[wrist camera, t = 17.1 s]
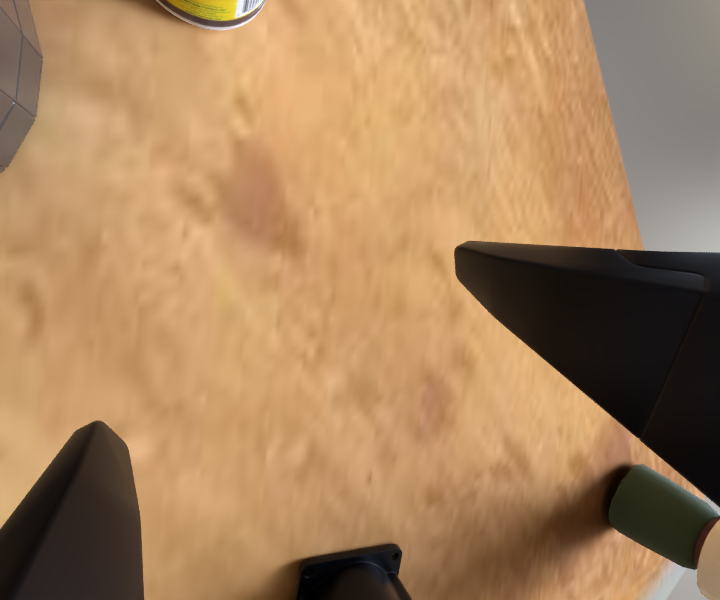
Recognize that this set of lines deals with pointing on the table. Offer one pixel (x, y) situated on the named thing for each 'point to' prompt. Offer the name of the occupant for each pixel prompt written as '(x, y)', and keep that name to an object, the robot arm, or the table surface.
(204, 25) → the supplement bottle
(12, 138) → the skillet
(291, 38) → the table surface
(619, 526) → the character mug
